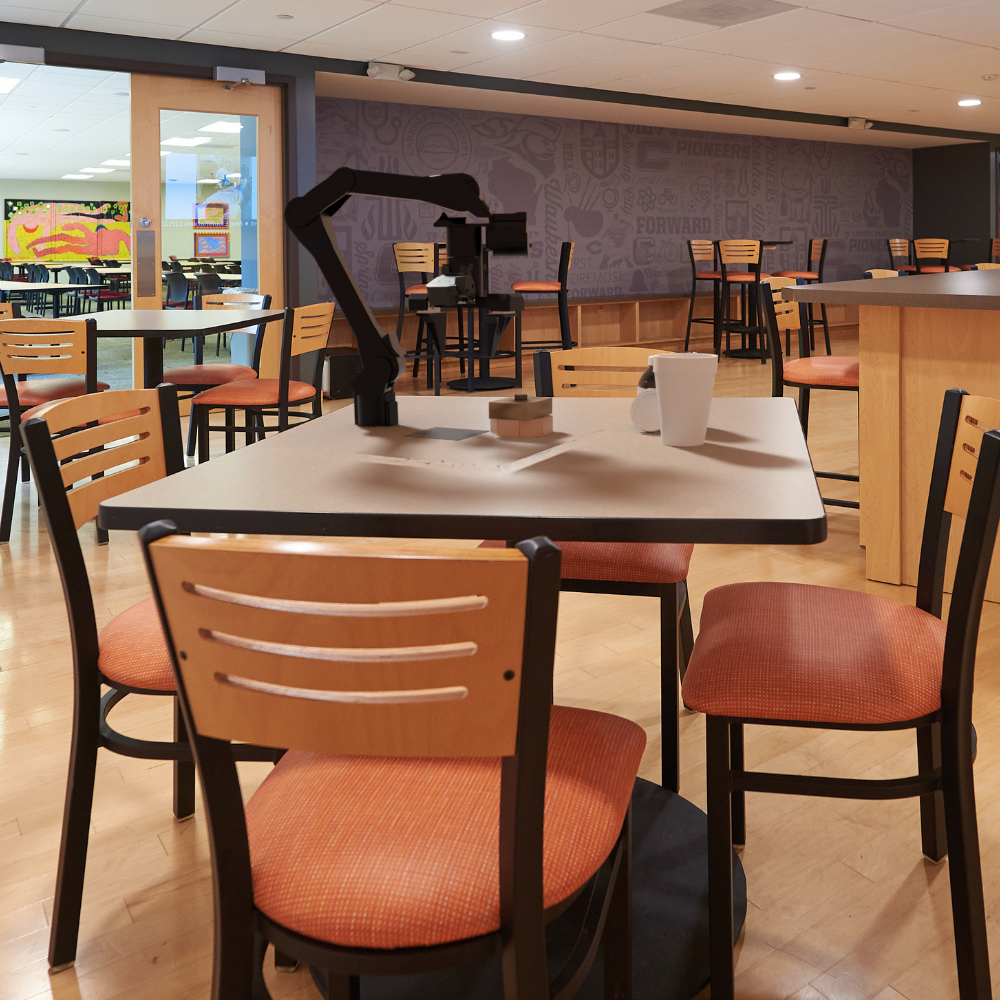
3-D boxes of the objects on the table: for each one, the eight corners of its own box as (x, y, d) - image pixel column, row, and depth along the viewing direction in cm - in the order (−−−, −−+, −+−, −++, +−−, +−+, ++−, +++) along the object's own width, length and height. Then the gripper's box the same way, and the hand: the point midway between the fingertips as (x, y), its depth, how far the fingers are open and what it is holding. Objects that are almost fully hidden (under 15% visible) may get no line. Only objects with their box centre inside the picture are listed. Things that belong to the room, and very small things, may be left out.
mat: (401, 442, 150) (401, 435, 150) (435, 433, 159) (435, 426, 159) (458, 446, 146) (458, 440, 146) (490, 437, 155) (490, 430, 154)
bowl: (482, 440, 151) (482, 418, 151) (509, 432, 159) (508, 410, 158) (535, 444, 147) (535, 421, 146) (559, 435, 155) (559, 413, 154)
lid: (488, 418, 150) (488, 396, 149) (515, 411, 158) (515, 390, 157) (527, 421, 147) (527, 398, 146) (552, 413, 155) (552, 392, 154)
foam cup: (714, 449, 142) (718, 358, 139) (650, 447, 144) (652, 358, 141) (714, 438, 151) (717, 353, 148) (653, 437, 153) (655, 353, 150)
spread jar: (692, 423, 167) (694, 354, 165) (708, 433, 156) (711, 359, 154) (622, 424, 167) (623, 355, 164) (633, 434, 156) (634, 360, 153)
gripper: (386, 257, 153) (389, 358, 157) (492, 255, 145) (493, 362, 148) (424, 258, 163) (427, 353, 166) (525, 256, 154) (526, 357, 158)
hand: (466, 356), depth 159 cm, fingers open, 9 cm apart
